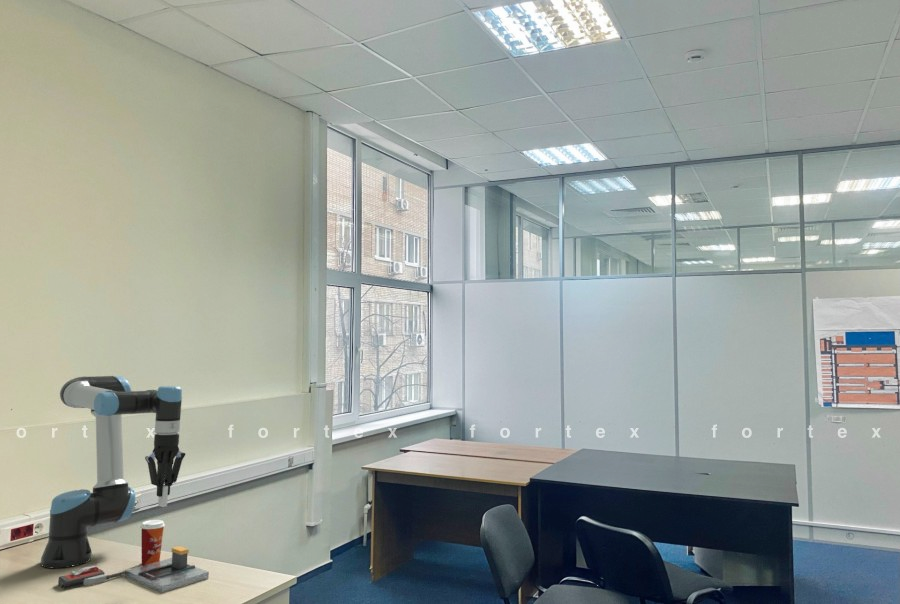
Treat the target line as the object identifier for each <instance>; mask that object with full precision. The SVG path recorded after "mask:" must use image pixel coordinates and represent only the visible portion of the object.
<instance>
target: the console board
mask: <svg viewBox="0 0 900 604" xmlns="http://www.w3.org/2000/svg"><path fill="white" fill-rule="evenodd" d="M209 573H210V572H209V571H208V570H204V569H202V568H200V567H197V566H196V565H193V564H188V563H187V567H185V568H182V569H177V568H174V567H172V557H169V558H166V559H163V560H160V561H158V562H155V563H151V564H147V565H144V566H143V565H140V566H137V567H133V568H128V569H125V574H124V577H125V578H128V579H130V580H132V581H134V582H136V583H138V584H142V585H144V586H146V587H148V588H150V589H153V590H155V591H158V592H159V593H161V594H162V593H165V592H168V591H172V590H175V589H178V587H179V588H182V587H185V586H188V585H191V584H193V583H194V584H195V583H197V582H200V581H204V580H207V579H209V575H210V574H209ZM181 586H182V587H181Z"/></svg>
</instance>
